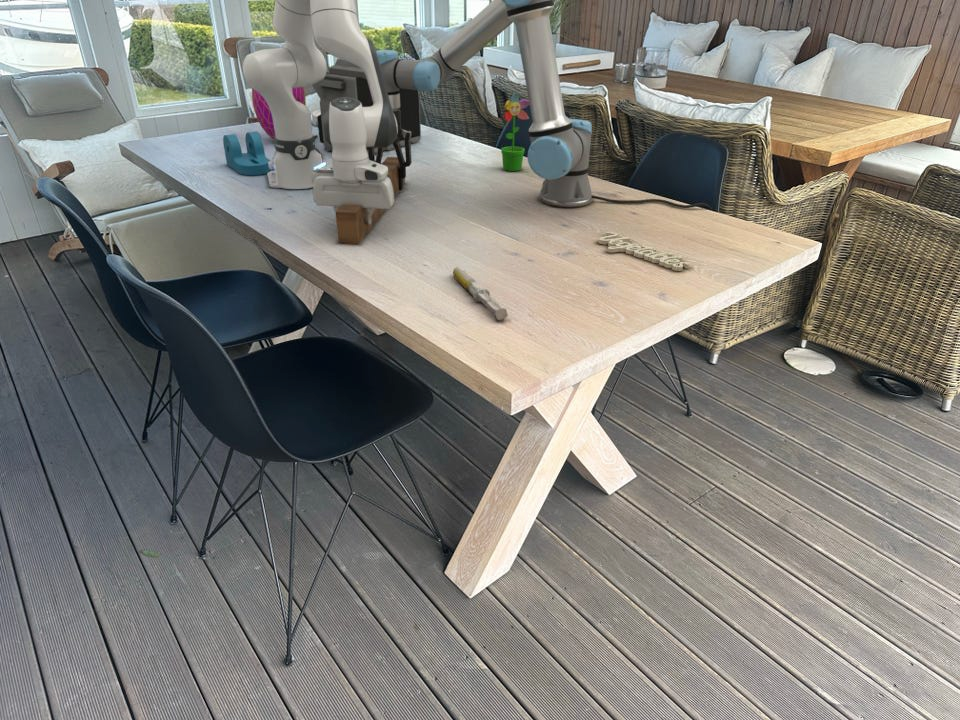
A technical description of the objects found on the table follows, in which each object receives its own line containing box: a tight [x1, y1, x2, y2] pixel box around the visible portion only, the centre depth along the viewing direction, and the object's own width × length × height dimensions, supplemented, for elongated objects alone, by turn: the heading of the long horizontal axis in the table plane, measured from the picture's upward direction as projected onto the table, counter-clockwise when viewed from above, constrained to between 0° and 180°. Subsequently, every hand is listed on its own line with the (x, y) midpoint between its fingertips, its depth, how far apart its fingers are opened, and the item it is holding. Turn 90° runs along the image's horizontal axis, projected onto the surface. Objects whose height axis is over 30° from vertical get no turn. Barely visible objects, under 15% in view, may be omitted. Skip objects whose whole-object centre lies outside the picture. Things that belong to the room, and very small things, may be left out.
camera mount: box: [222, 131, 272, 176], centre depth 226 cm, size 18×10×10 cm, turn 35°
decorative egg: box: [251, 87, 307, 140], centre depth 257 cm, size 19×19×30 cm
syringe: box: [452, 266, 509, 321], centre depth 145 cm, size 25×4×3 cm, turn 21°
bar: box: [334, 156, 406, 245], centre depth 192 cm, size 53×5×8 cm, turn 173°
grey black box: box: [311, 58, 422, 156], centre depth 250 cm, size 37×22×30 cm, turn 144°
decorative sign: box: [598, 231, 690, 272], centre depth 167 cm, size 26×1×10 cm
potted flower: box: [500, 91, 530, 172], centre depth 226 cm, size 9×8×25 cm
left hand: (355, 223), depth 176 cm, fingers closed on bar, 5 cm apart
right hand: (391, 188), depth 210 cm, fingers closed on bar, 5 cm apart
